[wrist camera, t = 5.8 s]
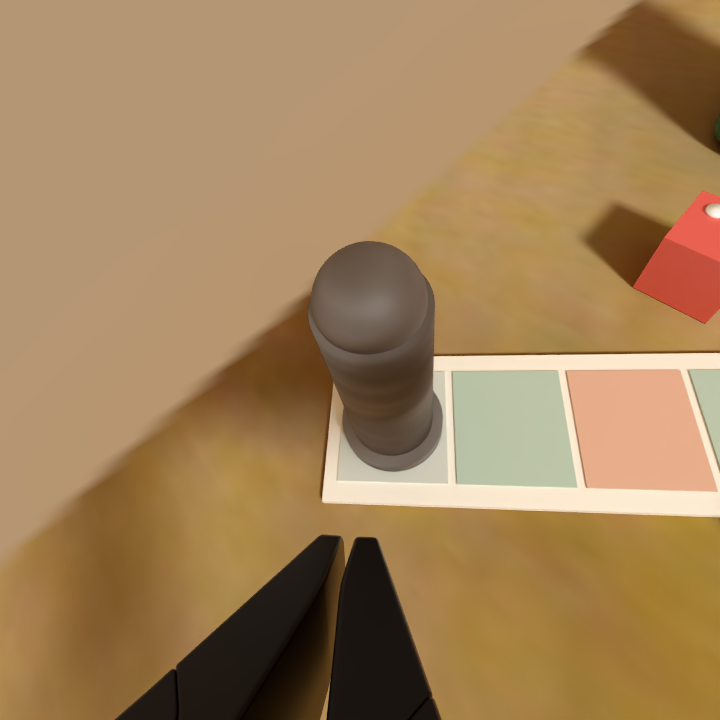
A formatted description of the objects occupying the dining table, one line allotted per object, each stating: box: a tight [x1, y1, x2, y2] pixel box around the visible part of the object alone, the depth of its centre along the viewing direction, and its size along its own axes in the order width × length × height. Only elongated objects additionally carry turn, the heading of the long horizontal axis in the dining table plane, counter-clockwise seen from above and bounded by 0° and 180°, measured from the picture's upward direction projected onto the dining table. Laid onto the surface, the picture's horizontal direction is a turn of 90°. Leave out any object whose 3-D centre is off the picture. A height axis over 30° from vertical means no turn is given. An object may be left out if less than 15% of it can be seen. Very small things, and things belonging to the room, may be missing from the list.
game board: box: [322, 353, 720, 517], centre depth 22 cm, size 24×8×1 cm, turn 87°
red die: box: [633, 191, 720, 323], centre depth 24 cm, size 4×4×4 cm
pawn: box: [308, 241, 443, 472], centre depth 18 cm, size 5×5×12 cm
